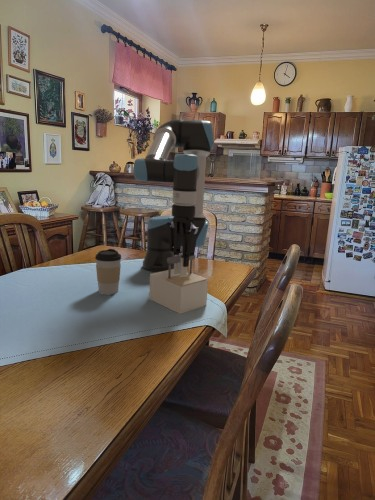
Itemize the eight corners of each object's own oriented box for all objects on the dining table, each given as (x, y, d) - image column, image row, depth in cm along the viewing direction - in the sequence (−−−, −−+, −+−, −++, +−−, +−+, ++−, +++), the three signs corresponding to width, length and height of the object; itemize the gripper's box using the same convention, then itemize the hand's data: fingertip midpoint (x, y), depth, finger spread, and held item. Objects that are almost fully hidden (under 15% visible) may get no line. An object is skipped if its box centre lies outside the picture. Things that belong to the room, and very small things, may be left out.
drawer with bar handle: (189, 273, 124) (191, 252, 122) (207, 280, 118) (208, 258, 116) (165, 279, 117) (166, 256, 115) (182, 286, 111) (184, 263, 109)
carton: (174, 291, 132) (175, 267, 130) (206, 305, 121) (208, 280, 118) (148, 298, 124) (148, 273, 122) (180, 314, 112) (181, 287, 110)
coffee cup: (115, 297, 124) (115, 255, 120) (91, 293, 125) (90, 252, 122) (124, 288, 132) (125, 249, 129) (102, 285, 134) (101, 247, 131)
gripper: (159, 201, 116) (157, 270, 122) (191, 207, 106) (187, 282, 111) (176, 201, 121) (173, 267, 127) (209, 206, 111) (204, 278, 116)
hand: (180, 274), depth 119 cm, fingers closed on drawer with bar handle, 2 cm apart
